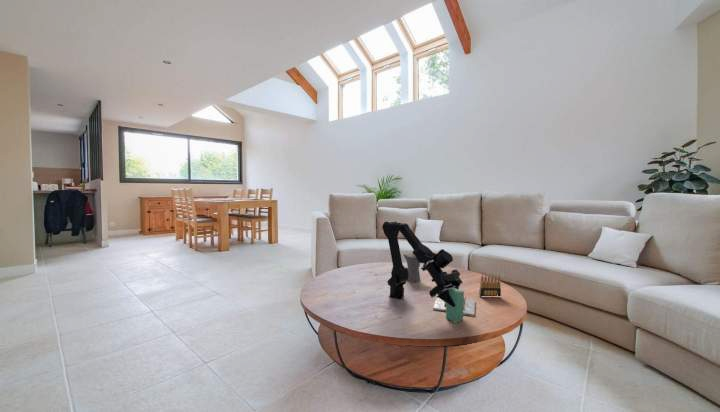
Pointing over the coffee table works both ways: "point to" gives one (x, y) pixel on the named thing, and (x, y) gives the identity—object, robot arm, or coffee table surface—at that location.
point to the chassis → (467, 306)
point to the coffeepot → (413, 267)
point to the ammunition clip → (490, 286)
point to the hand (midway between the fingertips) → (457, 305)
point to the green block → (457, 311)
